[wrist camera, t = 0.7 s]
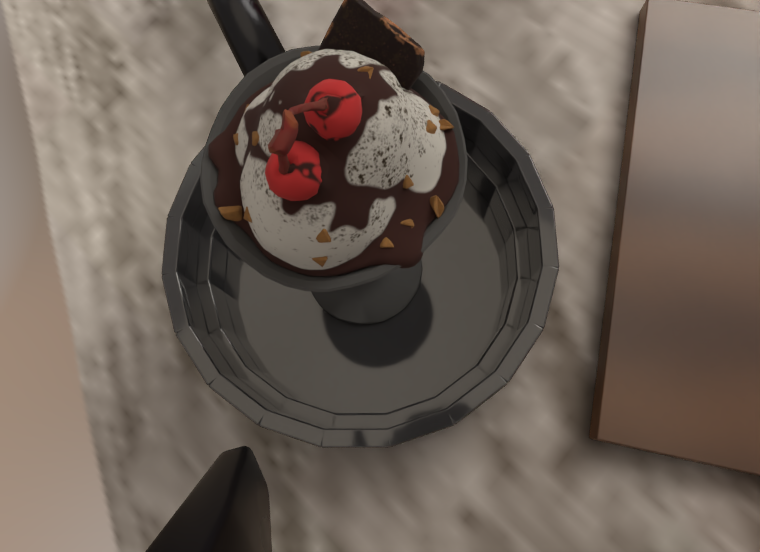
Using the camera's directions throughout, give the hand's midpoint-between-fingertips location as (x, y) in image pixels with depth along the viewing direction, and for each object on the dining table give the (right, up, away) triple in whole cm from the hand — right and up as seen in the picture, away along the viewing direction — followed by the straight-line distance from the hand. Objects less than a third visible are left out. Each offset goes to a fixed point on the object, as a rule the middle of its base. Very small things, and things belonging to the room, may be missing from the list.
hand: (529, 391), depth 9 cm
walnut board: (+15, +4, +14) cm, 21 cm away
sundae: (-3, +2, +15) cm, 15 cm away
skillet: (-3, +2, +15) cm, 15 cm away
